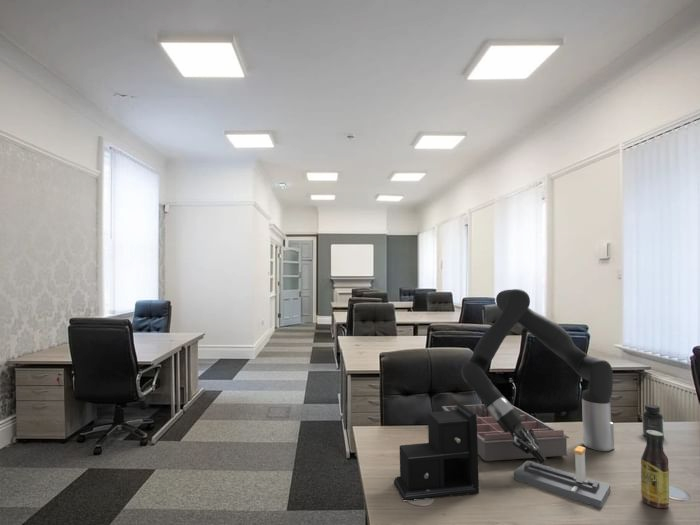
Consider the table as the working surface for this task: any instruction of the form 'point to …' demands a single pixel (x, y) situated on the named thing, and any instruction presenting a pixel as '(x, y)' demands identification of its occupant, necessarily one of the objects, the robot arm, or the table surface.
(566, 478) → the grey slider track base
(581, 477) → the fader tab
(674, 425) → the table surface
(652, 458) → the sauce bottle
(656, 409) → the supplement bottle
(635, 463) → the table surface
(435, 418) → the black drawer cabinet
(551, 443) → the organizer tray
